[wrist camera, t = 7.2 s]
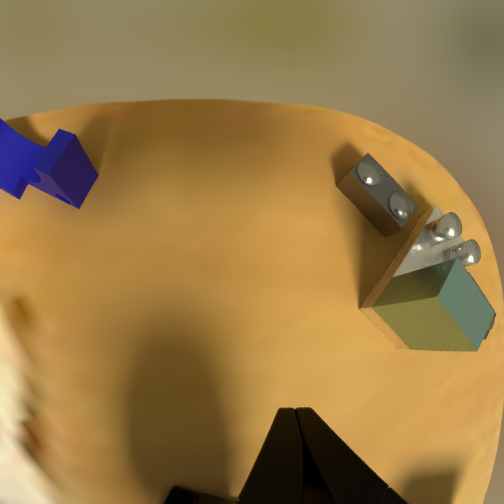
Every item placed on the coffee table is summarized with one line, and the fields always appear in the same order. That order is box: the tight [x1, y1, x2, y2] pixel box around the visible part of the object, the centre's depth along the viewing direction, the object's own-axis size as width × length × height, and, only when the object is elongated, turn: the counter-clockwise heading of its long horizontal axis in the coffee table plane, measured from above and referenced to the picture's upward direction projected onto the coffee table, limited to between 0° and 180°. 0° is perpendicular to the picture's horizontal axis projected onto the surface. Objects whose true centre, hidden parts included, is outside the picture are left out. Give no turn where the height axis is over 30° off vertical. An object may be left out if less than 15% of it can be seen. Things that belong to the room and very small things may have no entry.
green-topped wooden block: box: [359, 205, 494, 351], centre depth 20 cm, size 12×5×9 cm, turn 136°
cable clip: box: [0, 118, 98, 209], centre depth 17 cm, size 12×4×6 cm, turn 68°
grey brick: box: [336, 153, 496, 339], centre depth 23 cm, size 3×20×3 cm, turn 46°
